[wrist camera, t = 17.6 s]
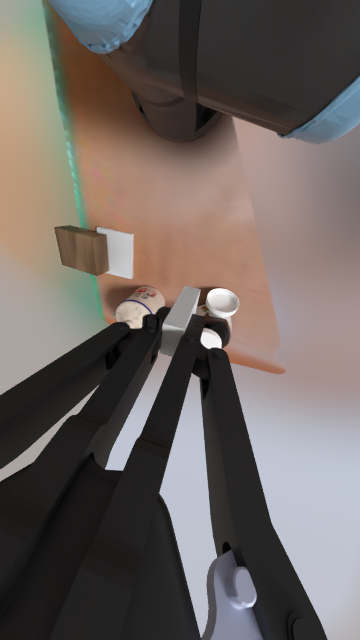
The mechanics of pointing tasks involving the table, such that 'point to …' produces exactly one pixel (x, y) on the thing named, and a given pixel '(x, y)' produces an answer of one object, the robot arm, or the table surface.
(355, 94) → the robot arm
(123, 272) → the grey board
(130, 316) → the teacup with lid
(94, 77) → the table surface
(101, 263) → the walnut slab
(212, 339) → the spread jar
